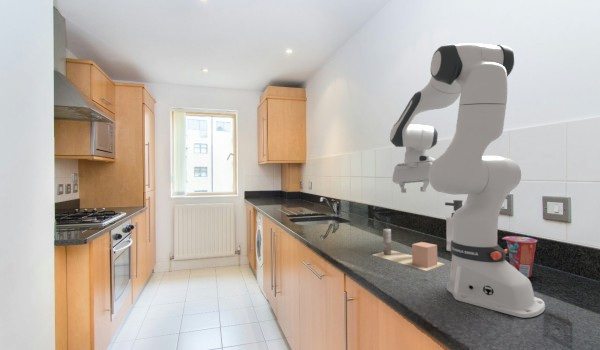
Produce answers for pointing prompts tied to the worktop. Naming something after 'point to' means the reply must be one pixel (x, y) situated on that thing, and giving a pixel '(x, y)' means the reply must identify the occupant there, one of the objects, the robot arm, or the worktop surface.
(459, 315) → the worktop surface
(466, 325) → the worktop surface
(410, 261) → the birch strip
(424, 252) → the terracotta block
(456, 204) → the soap dispenser
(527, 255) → the cup
